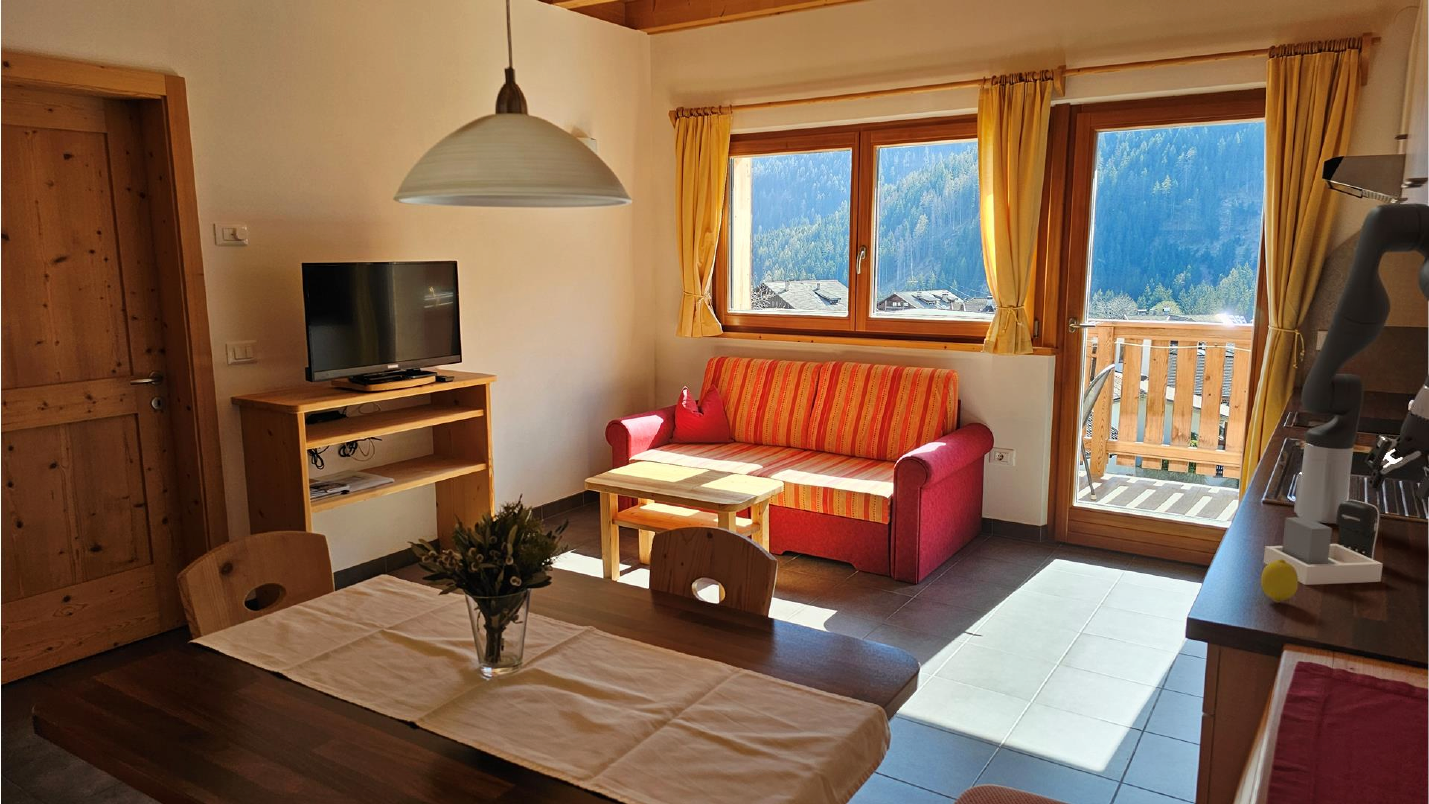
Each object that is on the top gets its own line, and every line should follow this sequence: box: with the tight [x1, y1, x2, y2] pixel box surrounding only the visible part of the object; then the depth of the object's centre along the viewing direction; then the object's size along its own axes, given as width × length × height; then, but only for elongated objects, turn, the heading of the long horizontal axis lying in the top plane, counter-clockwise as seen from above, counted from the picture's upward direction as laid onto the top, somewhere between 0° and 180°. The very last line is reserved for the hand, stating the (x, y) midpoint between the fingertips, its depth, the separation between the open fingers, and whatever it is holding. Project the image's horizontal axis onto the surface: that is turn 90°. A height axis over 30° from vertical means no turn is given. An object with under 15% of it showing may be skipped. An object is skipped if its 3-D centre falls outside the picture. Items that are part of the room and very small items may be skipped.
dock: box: [1263, 516, 1384, 586], centre depth 180 cm, size 11×15×10 cm
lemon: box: [1260, 559, 1299, 604], centre depth 166 cm, size 6×6×8 cm
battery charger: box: [1334, 499, 1381, 560], centre depth 188 cm, size 7×4×11 cm, turn 22°
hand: (1396, 493), depth 173 cm, fingers open, 8 cm apart
